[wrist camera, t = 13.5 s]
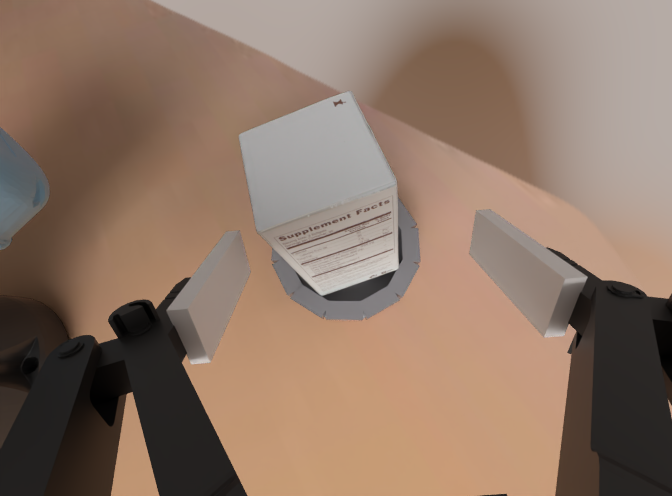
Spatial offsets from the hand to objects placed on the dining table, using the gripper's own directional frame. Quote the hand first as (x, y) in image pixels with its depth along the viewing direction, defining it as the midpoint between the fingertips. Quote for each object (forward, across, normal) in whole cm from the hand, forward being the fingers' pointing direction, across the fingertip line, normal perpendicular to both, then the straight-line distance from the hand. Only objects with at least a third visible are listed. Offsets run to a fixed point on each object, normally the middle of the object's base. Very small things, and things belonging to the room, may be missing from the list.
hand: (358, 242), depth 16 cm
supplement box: (+9, 0, -5) cm, 10 cm away
